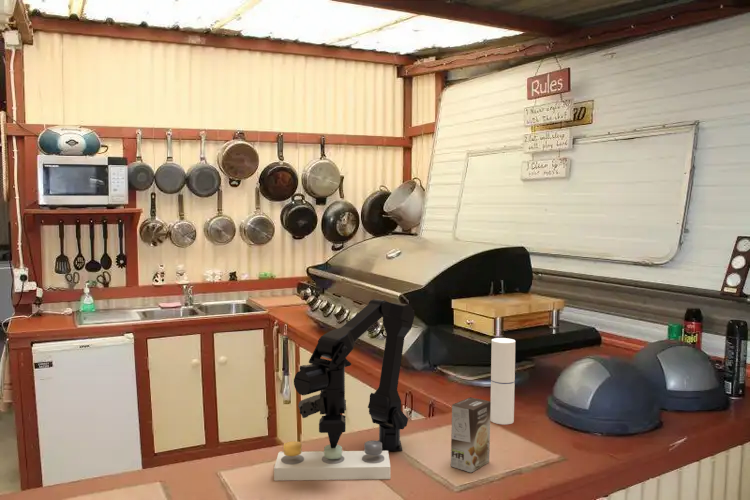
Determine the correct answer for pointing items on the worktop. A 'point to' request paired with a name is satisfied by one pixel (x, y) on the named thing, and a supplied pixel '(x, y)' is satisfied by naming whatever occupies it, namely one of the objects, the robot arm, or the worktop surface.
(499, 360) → the cylindrical container
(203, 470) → the worktop surface
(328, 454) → the button sage
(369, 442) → the button charcoal
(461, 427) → the coffee box
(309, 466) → the button panel
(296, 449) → the button amber
